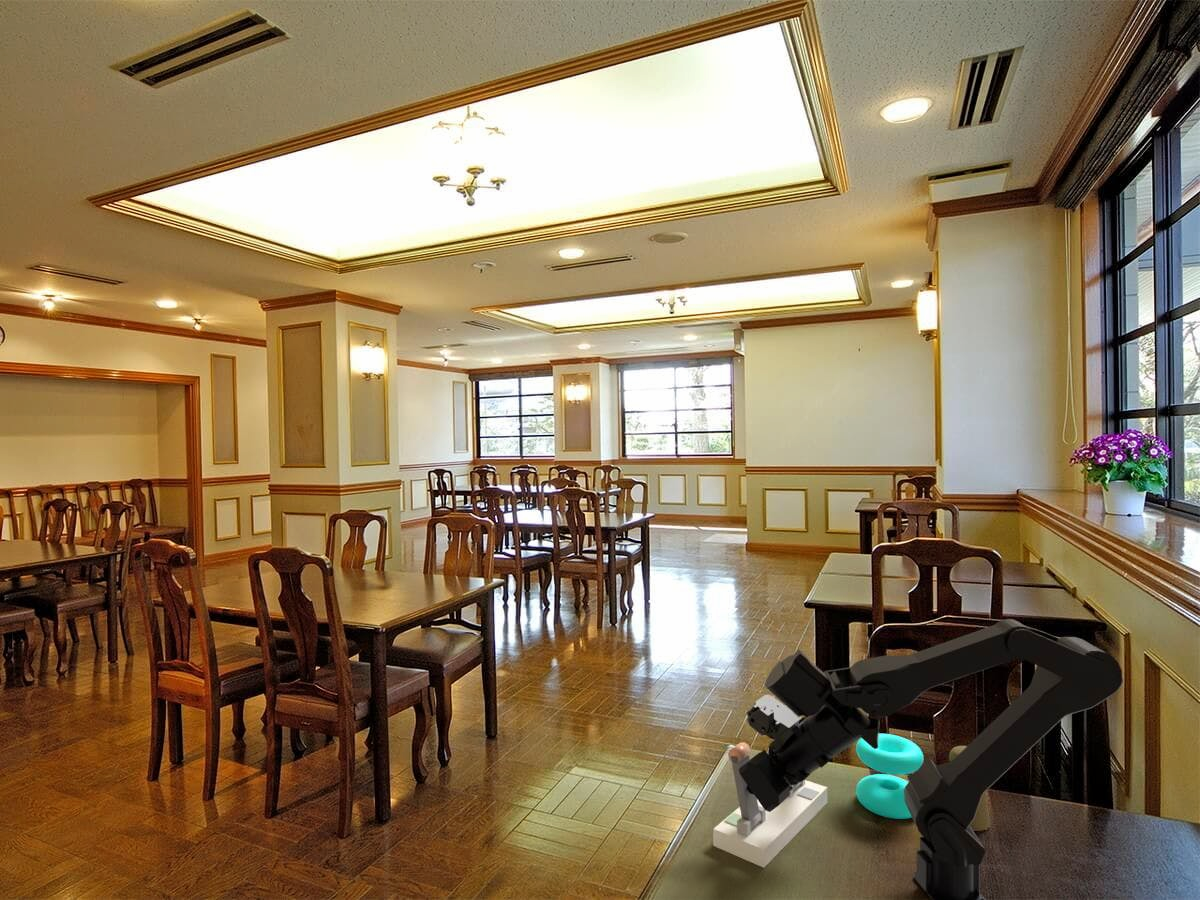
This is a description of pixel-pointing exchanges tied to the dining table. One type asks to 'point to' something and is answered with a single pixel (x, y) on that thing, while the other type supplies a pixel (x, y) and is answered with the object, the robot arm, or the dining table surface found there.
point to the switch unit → (770, 825)
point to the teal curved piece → (882, 789)
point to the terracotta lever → (744, 784)
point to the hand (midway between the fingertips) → (749, 790)
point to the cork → (982, 812)
